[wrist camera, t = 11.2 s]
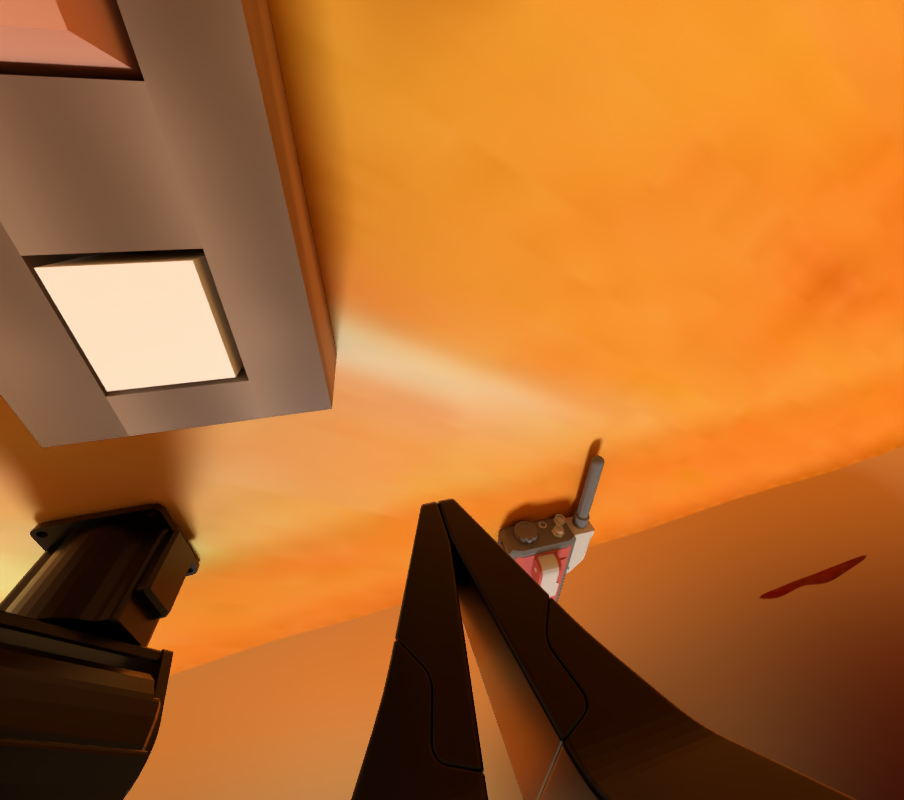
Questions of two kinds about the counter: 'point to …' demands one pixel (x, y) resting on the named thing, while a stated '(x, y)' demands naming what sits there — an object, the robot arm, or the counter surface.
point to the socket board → (162, 221)
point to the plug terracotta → (66, 40)
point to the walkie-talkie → (554, 539)
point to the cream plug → (145, 316)
